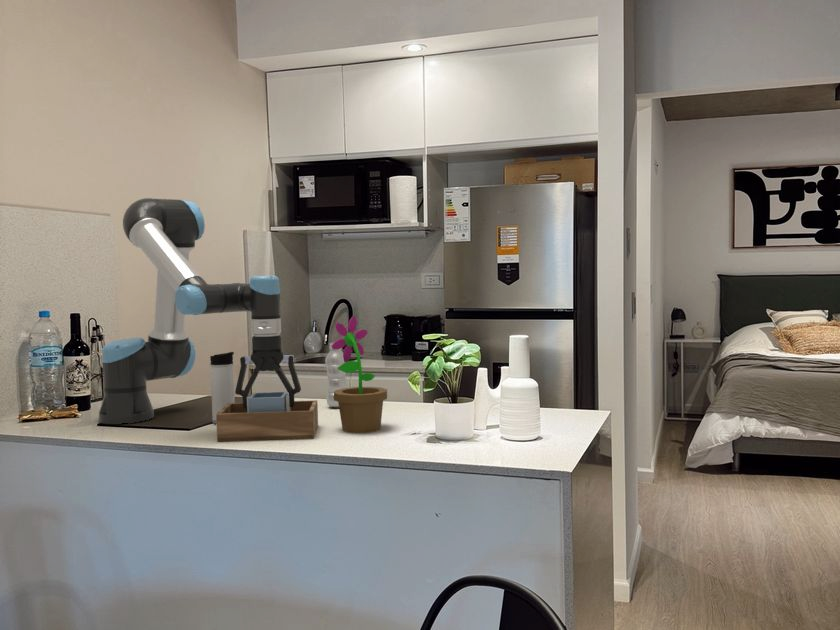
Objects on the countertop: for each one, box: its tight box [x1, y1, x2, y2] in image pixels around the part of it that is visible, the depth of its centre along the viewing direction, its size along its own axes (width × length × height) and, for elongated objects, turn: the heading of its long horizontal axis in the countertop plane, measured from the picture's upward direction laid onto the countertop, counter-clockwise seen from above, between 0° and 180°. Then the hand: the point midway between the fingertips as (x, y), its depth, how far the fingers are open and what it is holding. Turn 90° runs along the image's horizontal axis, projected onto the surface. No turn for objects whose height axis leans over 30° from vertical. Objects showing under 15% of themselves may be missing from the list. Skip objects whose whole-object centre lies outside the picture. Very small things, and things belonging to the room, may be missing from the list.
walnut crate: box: [216, 399, 319, 443], centre depth 202 cm, size 16×24×7 cm, turn 93°
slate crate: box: [248, 391, 289, 413], centre depth 202 cm, size 9×9×9 cm
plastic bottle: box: [324, 342, 347, 409], centre depth 237 cm, size 6×7×20 cm
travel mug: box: [209, 351, 236, 425], centre depth 218 cm, size 6×7×20 cm
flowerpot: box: [332, 315, 388, 434], centre depth 205 cm, size 14×14×30 cm
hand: (269, 420), depth 202 cm, fingers open, 9 cm apart
